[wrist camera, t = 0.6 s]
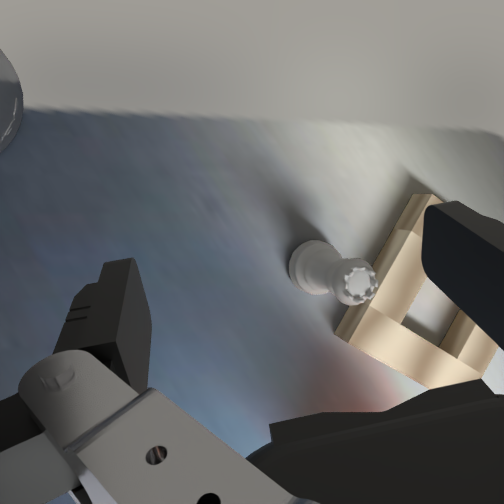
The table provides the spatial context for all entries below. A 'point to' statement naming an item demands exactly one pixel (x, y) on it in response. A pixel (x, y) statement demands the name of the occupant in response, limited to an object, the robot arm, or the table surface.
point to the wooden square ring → (398, 303)
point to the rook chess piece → (331, 273)
